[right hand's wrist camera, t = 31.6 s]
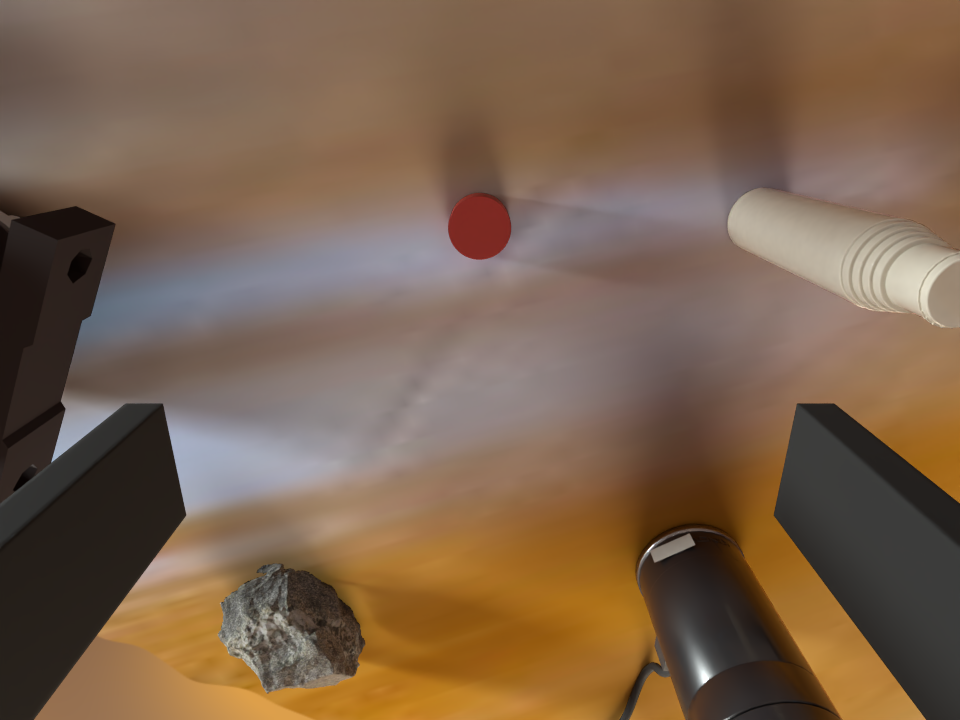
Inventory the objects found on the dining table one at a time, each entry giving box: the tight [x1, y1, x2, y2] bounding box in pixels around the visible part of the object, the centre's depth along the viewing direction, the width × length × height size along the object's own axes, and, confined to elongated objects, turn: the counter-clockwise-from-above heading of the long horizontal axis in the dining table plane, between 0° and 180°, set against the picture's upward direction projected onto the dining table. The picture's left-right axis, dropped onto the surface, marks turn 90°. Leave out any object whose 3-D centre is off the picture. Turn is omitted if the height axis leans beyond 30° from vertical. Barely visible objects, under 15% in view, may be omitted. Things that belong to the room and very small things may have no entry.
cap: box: [448, 193, 511, 260], centre depth 42 cm, size 4×4×2 cm
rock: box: [218, 564, 365, 694], centre depth 52 cm, size 13×9×6 cm, turn 55°
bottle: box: [727, 187, 960, 328], centre depth 34 cm, size 4×4×20 cm
